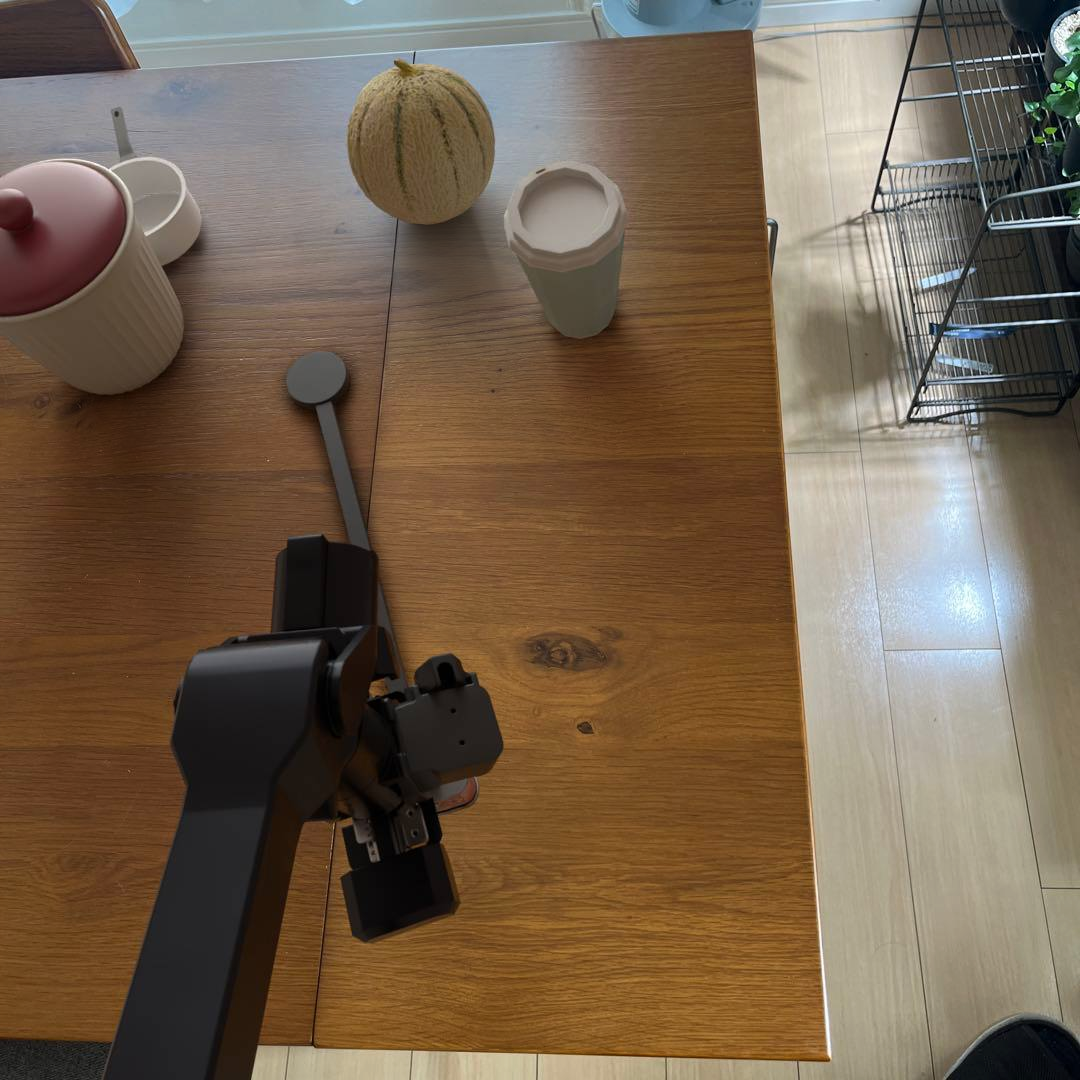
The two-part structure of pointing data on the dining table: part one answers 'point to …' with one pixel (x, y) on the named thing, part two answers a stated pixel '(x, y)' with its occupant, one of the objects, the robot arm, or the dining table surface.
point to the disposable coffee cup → (569, 243)
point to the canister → (83, 278)
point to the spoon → (338, 458)
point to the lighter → (455, 795)
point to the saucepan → (157, 198)
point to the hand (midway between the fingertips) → (405, 796)
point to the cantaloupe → (421, 143)
